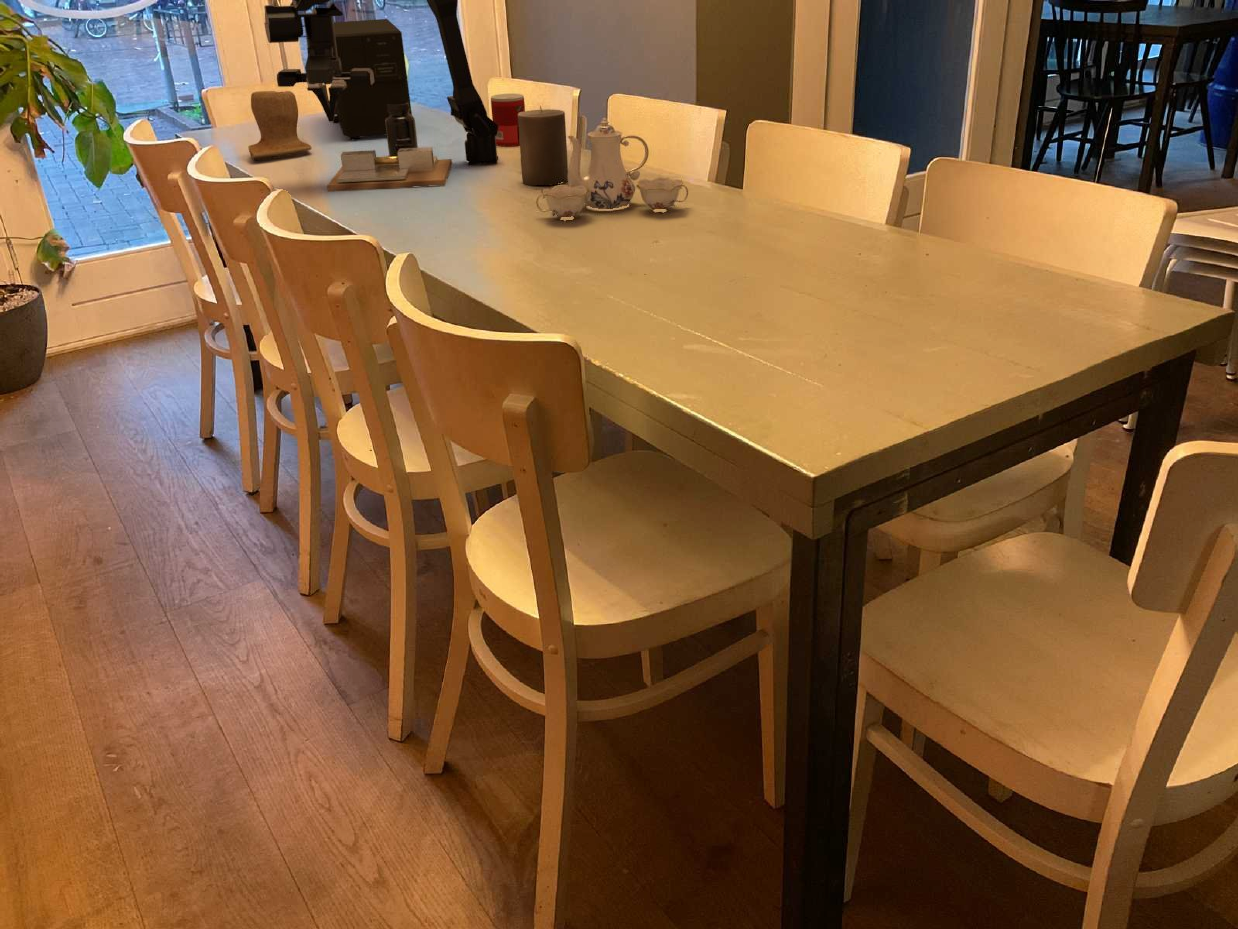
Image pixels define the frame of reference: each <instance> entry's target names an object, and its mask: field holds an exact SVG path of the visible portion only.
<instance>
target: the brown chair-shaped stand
mask: <svg viewBox="0 0 1238 929" xmlns="http://www.w3.org/2000/svg"><path fill="white" fill-rule="evenodd" d="M296 98H297V97H296V94H294V92H292V91H290V90H285V91H275V90H262V91H261V90H260V91H258V90H257V91H254V92H251V94H250V107H251V112H252V114H253V117H254V119H255V122H256V125H257V127H258V130H259V132H260V139H259V141H258V142H256V143H255V144H254V143H253V144H249V145H248V146H247V147H248V152H249V154H250V158H251V160H252V161H260V160H268V159H277V158H283V157H284V158H285V157H288V156H292V155H297V154H300V153H301V154H302V153H305V152H308V151H310V150H312V146H311V145H310V144H309V143H306V142H304V141H302V140H301V139H300V138H299V137H298V129H297V128H298V123H299V122H298V121H299V108H298V107H299V106H298V102H297V99H296Z"/></svg>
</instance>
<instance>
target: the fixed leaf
mask: <svg viewBox="0 0 1238 929" xmlns="http://www.w3.org/2000/svg"><path fill="white" fill-rule="evenodd" d="M433 150H434V149H433V146H427V147H424V146H423V147H418V148H403V149H399V150H398V160H399V164H386V165H378V170H382V169H403V168H409V173H415V172H433V171H434V168H435V166H436V164H437V161H438V160H439V159H438V156H437V155H434V151H433Z"/></svg>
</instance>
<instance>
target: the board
mask: <svg viewBox="0 0 1238 929" xmlns="http://www.w3.org/2000/svg"><path fill="white" fill-rule="evenodd" d="M452 166H453V160H452V158H449V159H448V158H446V159H438V161H437V164H436V166H435V168H434V171H433V172H415V173H408V175H407V177H406V179H399V180H378V181H357V182H337V178H338V177H339V176H340V174H341V173H342V172H343V168H342V166H341V167H340V168H339V170H338V171H337V173H336V174H335V175H334V176H333V177H332V179H331V180H330V181H329V183H328V184H327V191H328V192H340V191H341V192H344V191H363V189H367V190H383V189H384V190H385V189H399V188H398V187H408V188H414V187H413V186H428V187H430V186H429V185H445V186H446V183H445V182H447V180H448V178H447V177H449V174H450V172H451V169H450V168H452ZM449 171H450V172H449ZM446 179H447V180H446Z"/></svg>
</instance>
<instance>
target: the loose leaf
mask: <svg viewBox="0 0 1238 929" xmlns="http://www.w3.org/2000/svg"><path fill="white" fill-rule="evenodd" d="M340 161H341V167H342V168H343V172H342V173H341V174H340V176H339V177H338V178H337V182H357V181H378V180H399V179H406V177H407V175H408V173H409V168H403V169H382V170H378V165H386V164H399V160H398V156H377V152H376V150H374V149H373V150H372V149H371V150H353V151H342V153H341V154H340Z"/></svg>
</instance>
